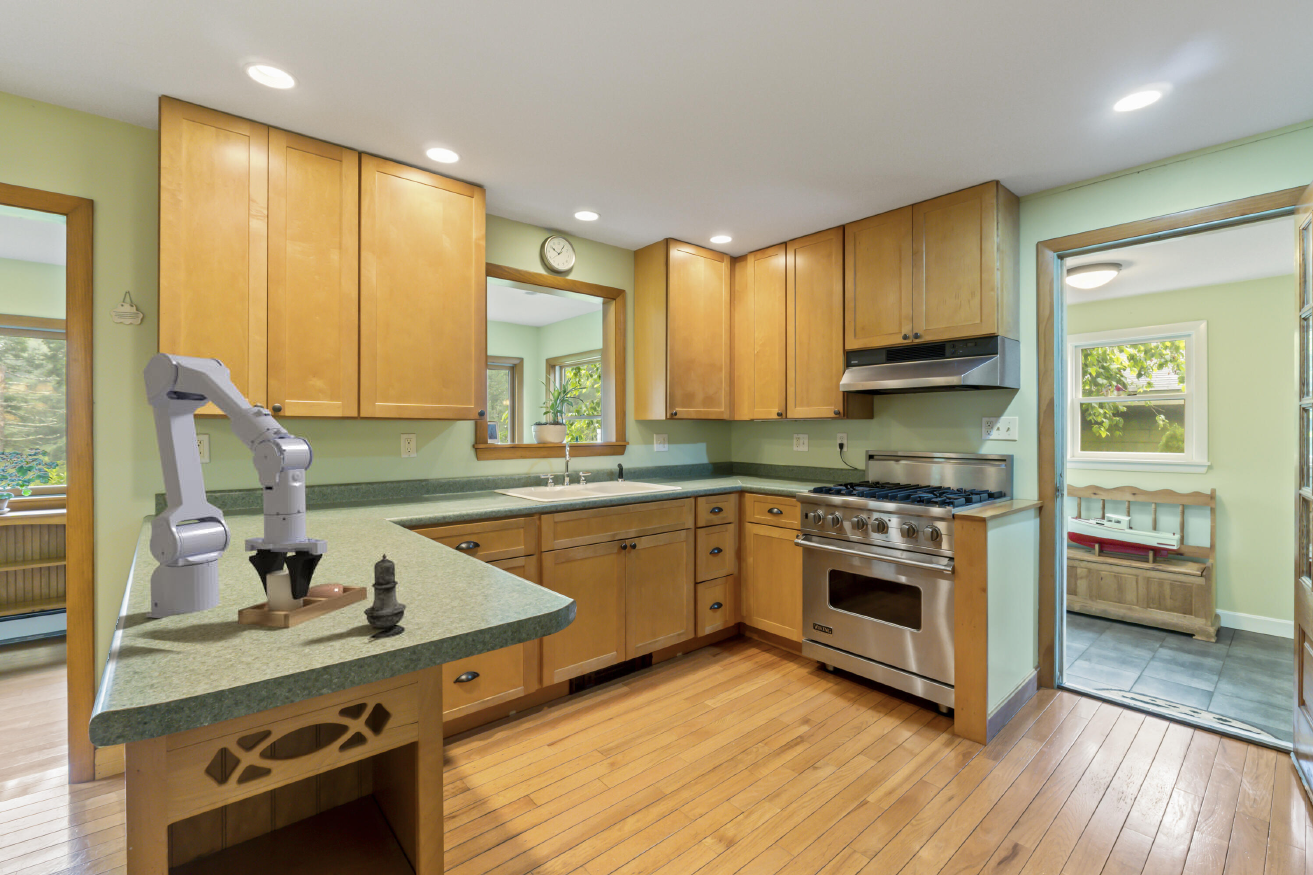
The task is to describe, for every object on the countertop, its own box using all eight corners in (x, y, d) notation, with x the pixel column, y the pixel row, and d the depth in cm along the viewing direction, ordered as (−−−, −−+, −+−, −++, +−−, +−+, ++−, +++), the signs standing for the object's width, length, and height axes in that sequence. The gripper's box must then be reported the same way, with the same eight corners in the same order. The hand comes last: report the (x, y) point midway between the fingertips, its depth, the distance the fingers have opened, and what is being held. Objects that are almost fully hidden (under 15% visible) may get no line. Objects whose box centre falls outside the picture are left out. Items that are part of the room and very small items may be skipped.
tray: (238, 629, 92) (237, 610, 92) (321, 600, 107) (320, 584, 107) (289, 634, 89) (289, 614, 89) (367, 603, 105) (366, 587, 105)
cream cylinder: (260, 613, 93) (258, 575, 93) (287, 603, 97) (286, 568, 97) (283, 615, 91) (282, 577, 91) (310, 606, 96) (308, 569, 96)
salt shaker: (390, 640, 86) (388, 558, 86) (355, 637, 87) (353, 557, 87) (414, 626, 92) (413, 550, 92) (381, 624, 93) (379, 549, 93)
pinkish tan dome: (298, 607, 100) (297, 590, 100) (324, 597, 105) (324, 582, 105) (324, 609, 99) (324, 592, 99) (350, 599, 104) (350, 584, 104)
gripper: (226, 515, 93) (228, 601, 93) (300, 517, 89) (302, 606, 89) (266, 509, 99) (268, 589, 100) (336, 511, 96) (338, 594, 96)
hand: (286, 596), depth 95 cm, fingers closed on cream cylinder, 5 cm apart
